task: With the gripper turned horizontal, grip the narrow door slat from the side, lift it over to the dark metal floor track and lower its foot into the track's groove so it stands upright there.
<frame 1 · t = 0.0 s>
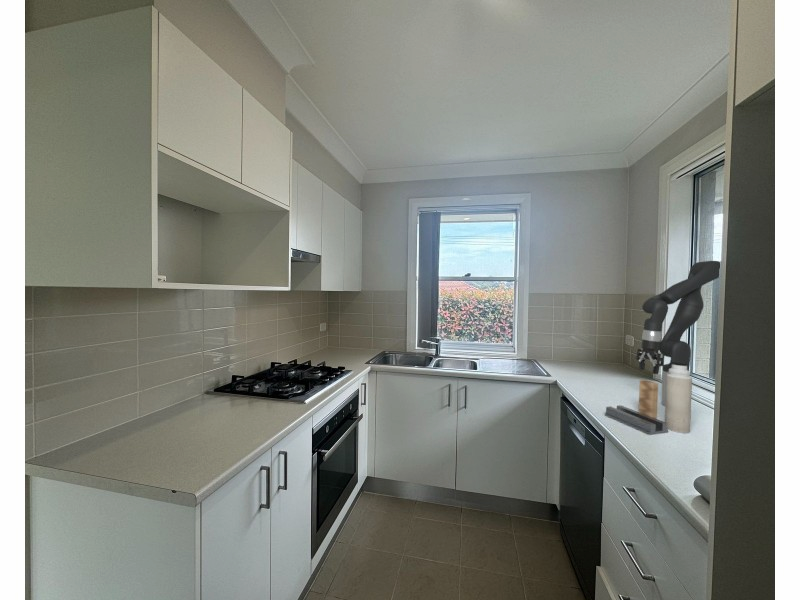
hand: (648, 371, 157), 17 cm above the countertop, tool pointing down, fingers open, 8 cm apart
floor track: (634, 423, 135), on the countertop
thermos bottle: (676, 429, 130), on the countertop
door slat: (647, 416, 143), on the countertop
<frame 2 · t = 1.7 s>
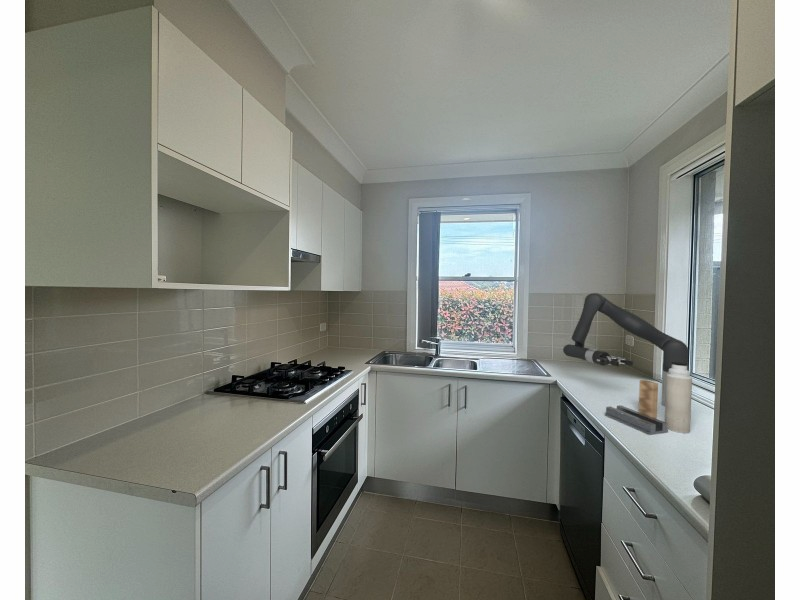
hand: (625, 363, 153), 22 cm above the countertop, tool horizontal, fingers open, 8 cm apart
nothing on the countertop moved.
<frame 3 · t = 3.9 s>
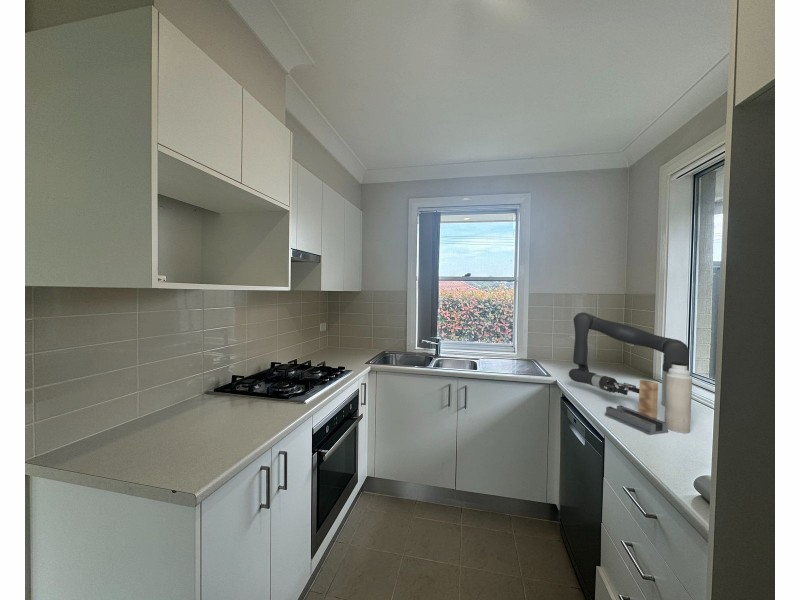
hand: (634, 392, 149), 9 cm above the countertop, tool horizontal, fingers open, 8 cm apart
nothing on the countertop moved.
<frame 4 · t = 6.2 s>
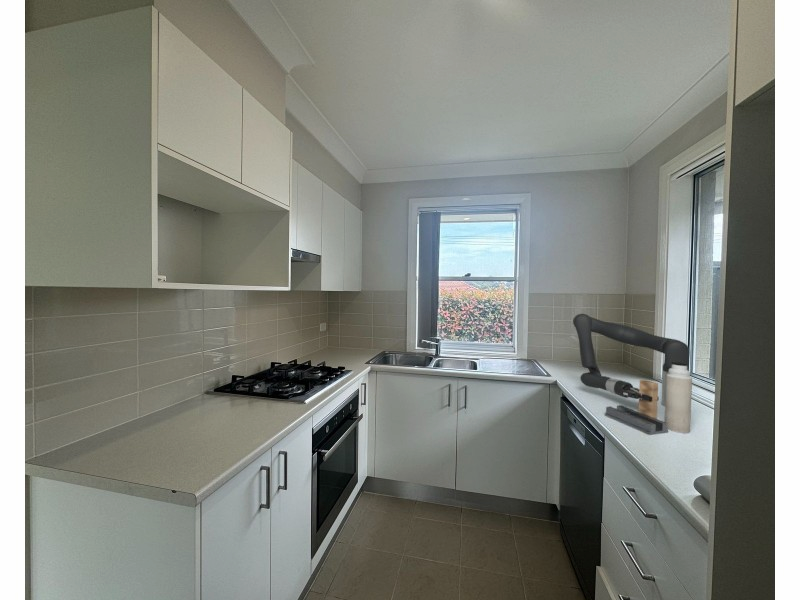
hand: (654, 399, 140), 9 cm above the countertop, tool horizontal, fingers closed on door slat, 3 cm apart
door slat: (647, 416, 143), on the countertop, touching gripper
everything else where it was.
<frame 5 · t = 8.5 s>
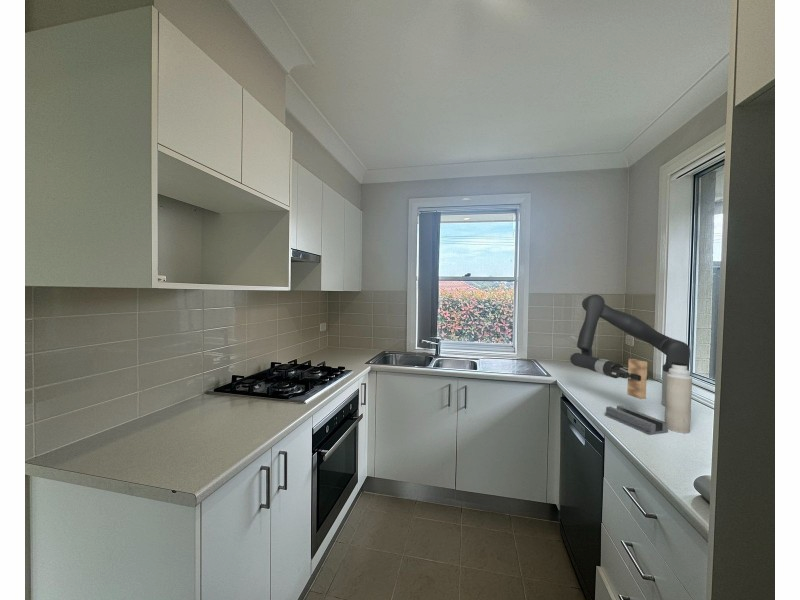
hand: (643, 378, 135), 20 cm above the countertop, tool horizontal, fingers closed on door slat, 3 cm apart
door slat: (636, 396, 138), point 11 cm above the countertop, touching gripper
everything else where it was.
when the fingers open (11 cm above the countertop, at t = 11.1 s): door slat drops 1 cm, resting on floor track.
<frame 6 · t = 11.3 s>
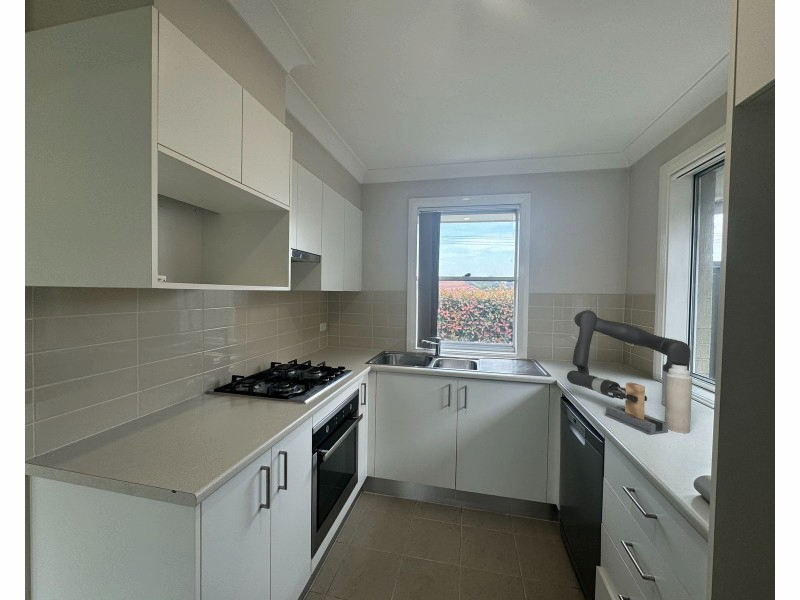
hand: (641, 399, 132), 11 cm above the countertop, tool horizontal, fingers open, 4 cm apart
door slat: (634, 421, 135), point 1 cm above the countertop, touching floor track
everything else where it was.
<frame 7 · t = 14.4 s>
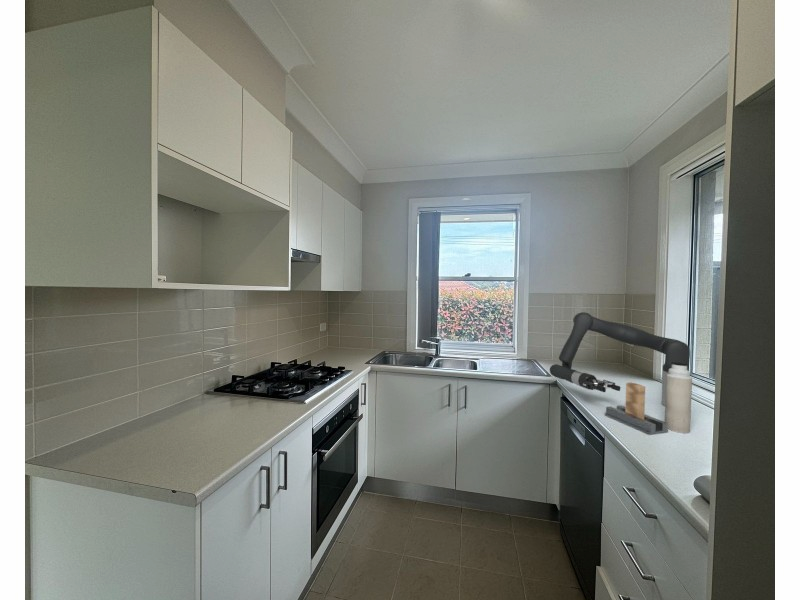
hand: (612, 389, 145), 12 cm above the countertop, tool horizontal, fingers open, 8 cm apart
nothing on the countertop moved.
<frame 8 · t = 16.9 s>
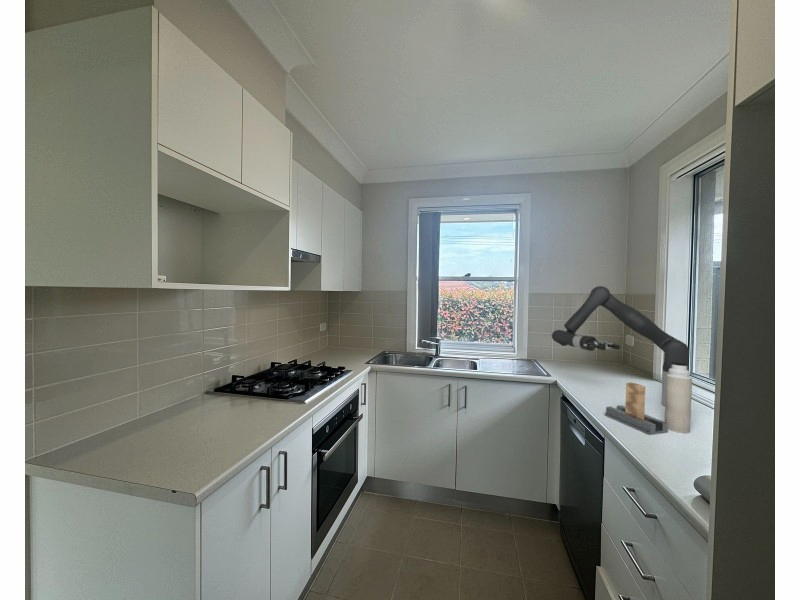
hand: (612, 347, 151), 30 cm above the countertop, tool horizontal, fingers open, 8 cm apart
nothing on the countertop moved.
at the end: door slat inside the target area on the floor track (0.0 cm from its centre), point 1.0 cm above the floor track's base; door slat tilted 0°; the gripper is holding nothing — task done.
